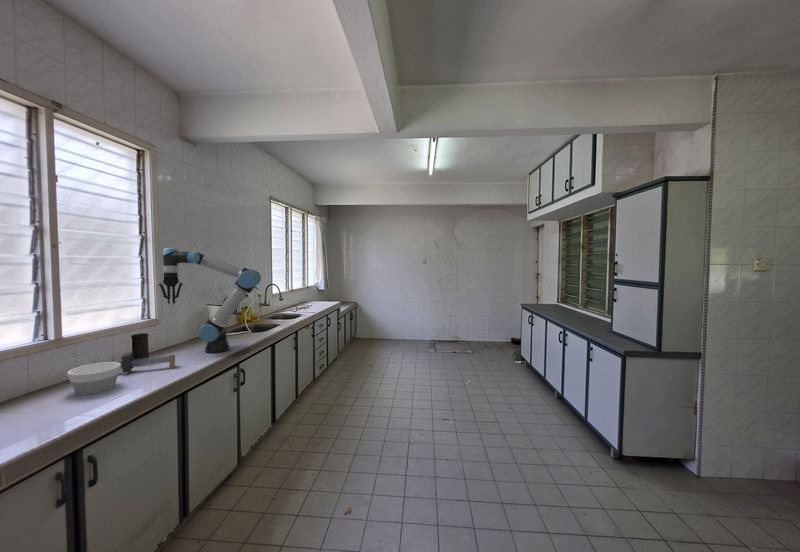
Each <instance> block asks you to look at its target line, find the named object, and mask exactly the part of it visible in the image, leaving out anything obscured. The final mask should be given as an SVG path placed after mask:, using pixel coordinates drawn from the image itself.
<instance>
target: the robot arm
mask: <svg viewBox="0 0 800 552" xmlns="http://www.w3.org/2000/svg"><path fill="white" fill-rule="evenodd" d="M162 263H163V266H162V269H163V280H162V282H160V283H158V286H159V287H160V290H161V292H162V295H163V298H164V299H167V304H168V305H169V310H174V304H176V299H177V298H179V295H180V292H181V288H182V286H183V284H184V283H183V282H181V281H180V280H179V273H178V272H179V268H178V264H195V265H199V266H202V267H205V268H208V269H210V270H214V271H216V272H219V273H222V274H225V275H227V276H230V277H234V278H237V280H235V282H234V288H233V289H232V291H231V292H230V293H229V295H228V296H227V297H226V299H225V300H224V302H223V303H222V304H221V306H219V308H218V310H217V311H216V312H215V314H214V315H213V316H209V318H207V321H206V322H205V323H204V325H202V326H201V327H200V328H199V330H198V336H199V338H200V339H201V340H202V341H203V342H206V345H205V349H204V352H205V353H206V354H217V353H218V354H219V353H226V352H228V351H229V350H231V349H230V343H229V341H228V339H227V337H228V335H227V333H228V332H227V331H228V330H227V323H228V320H229V319H230V318H231V316H232V315H233V314H234V312H235V311H236V310H237V308H238V306H239V305H240V304H241V302H242V301H243V300H244V298H245V297H246V295H247V294H251V293H252V291H253V290H254V288H255V287H256V286H258V285H259V284H260V283H261V279H262V277H261V275H260V273H259V272H258V271H257V270H255V269H250V268H248V267H247V268H246V267H239V266H236V265H234V264H231V263H228V262H225V261H223V260H220V259H217V258H215V257H211V256H209V255H205V254H203V253H201V252H198V251H178V248H175V247H173V248H170V247H169V248H168V247H166V248H165V247H164V248H163V250H162ZM164 285H165V286H164ZM177 285H178V286H177ZM176 286H177V287H178V288H177V290H176ZM165 287H166V288H167V291H166V290H165ZM166 292H167V293H166ZM171 292H172V293H171ZM171 297H172V298H171Z"/></svg>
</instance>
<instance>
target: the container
mask: <svg viewBox="0 0 800 552" xmlns="http://www.w3.org/2000/svg"><path fill="white" fill-rule="evenodd" d="M149 336H150V335H149V333H135V334H132V335H130V338H131V352H133V359H141V358H150V352H149V349H150V348H149ZM137 366H140V365H136V366H135V367H137Z"/></svg>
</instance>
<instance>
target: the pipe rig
mask: <svg viewBox="0 0 800 552" xmlns="http://www.w3.org/2000/svg"><path fill="white" fill-rule="evenodd" d="M109 362H118V363H120V364H121V366H120V368H122V359H121V360H110V361H109ZM163 363H169V365H168V366H169V370H173V369H175V367H176V355H175V354H170V355H164V356H163V355H162V356H155V357H154V356H152V357H149V358H141V359H131V360H130V366H133V367H137V366H136V365H139V366H143V365H144V366H145V365H152V364H153V365H154V364H163ZM131 371H132V369H131V370H130V372H131ZM130 372H124V374H123V376H127V375H128V374H129V373H130Z"/></svg>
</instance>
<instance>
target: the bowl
mask: <svg viewBox="0 0 800 552" xmlns="http://www.w3.org/2000/svg"><path fill="white" fill-rule="evenodd" d="M120 366H121V364H120V363H118V362H110V361H104V362H96V363H95V362H94V363H90V364H89V363H88V364H84V365H81V366H77V367H75V368H72V369H70V370H68V371H67V376H68V379H69V381H70V383H71V386H72V388H73V391H74V392H75V395H78V396H88V395H89V396H91V395H95V394H96V395H97V394H100V393H104V392H107V391H109V390H111V389H113V388H115V387H116V382H117V380H118V377H119V373H120V370H121V367H120Z"/></svg>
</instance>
